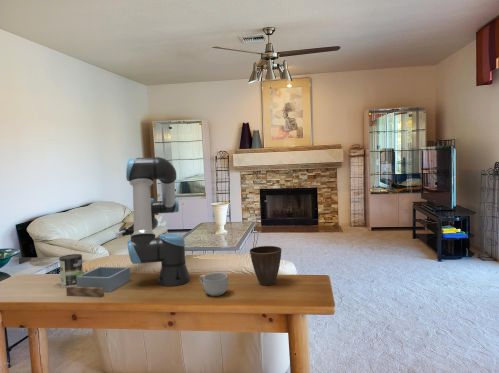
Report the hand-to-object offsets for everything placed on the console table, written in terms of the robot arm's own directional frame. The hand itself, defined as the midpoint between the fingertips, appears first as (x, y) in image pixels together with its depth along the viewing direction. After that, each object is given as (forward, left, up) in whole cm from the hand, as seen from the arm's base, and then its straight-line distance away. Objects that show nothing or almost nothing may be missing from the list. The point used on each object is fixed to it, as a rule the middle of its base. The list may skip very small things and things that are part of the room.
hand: (117, 235), depth 192 cm
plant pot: (-78, +1, -22) cm, 81 cm away
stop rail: (0, +28, -22) cm, 36 cm away
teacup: (-57, +17, -22) cm, 64 cm away
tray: (0, +13, -22) cm, 26 cm away
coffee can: (+19, +12, -22) cm, 32 cm away
